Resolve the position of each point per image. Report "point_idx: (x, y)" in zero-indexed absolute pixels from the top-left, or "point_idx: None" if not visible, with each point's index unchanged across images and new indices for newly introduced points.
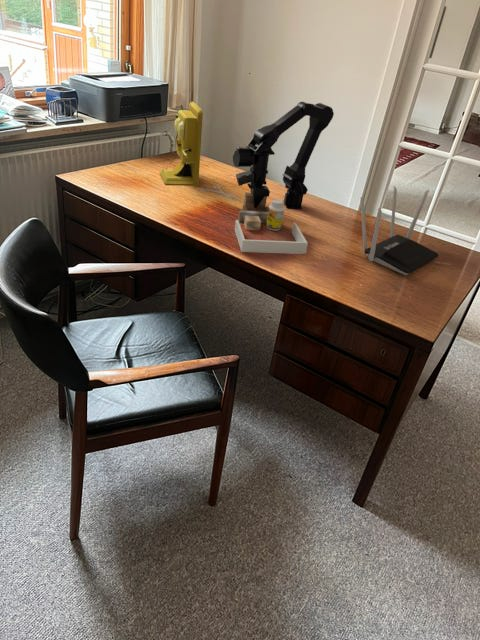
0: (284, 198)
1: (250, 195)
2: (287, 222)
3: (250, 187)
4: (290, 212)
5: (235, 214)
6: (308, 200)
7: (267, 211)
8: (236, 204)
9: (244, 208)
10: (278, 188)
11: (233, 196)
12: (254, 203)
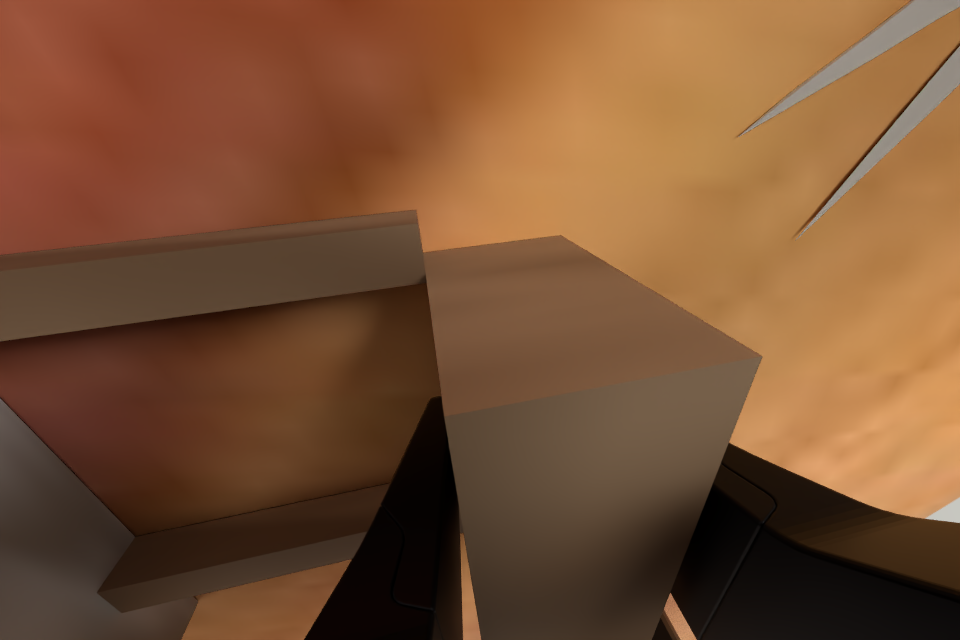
0: (658, 623)
1: (495, 506)
2: (214, 636)
3: (941, 628)
4: (470, 611)
5: (34, 20)
6: (687, 632)
7: (308, 546)
8: (629, 108)
9: (261, 253)
10: (914, 501)
11: (946, 80)
12: (405, 454)
